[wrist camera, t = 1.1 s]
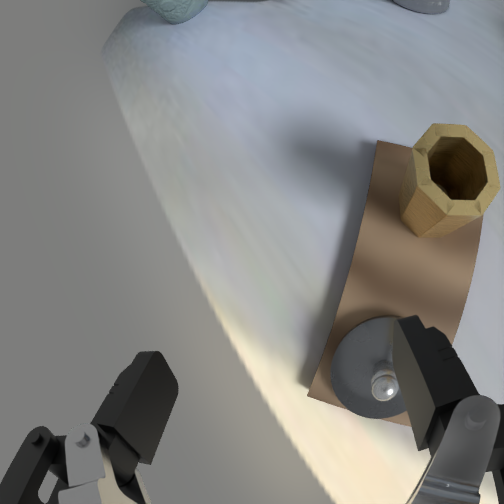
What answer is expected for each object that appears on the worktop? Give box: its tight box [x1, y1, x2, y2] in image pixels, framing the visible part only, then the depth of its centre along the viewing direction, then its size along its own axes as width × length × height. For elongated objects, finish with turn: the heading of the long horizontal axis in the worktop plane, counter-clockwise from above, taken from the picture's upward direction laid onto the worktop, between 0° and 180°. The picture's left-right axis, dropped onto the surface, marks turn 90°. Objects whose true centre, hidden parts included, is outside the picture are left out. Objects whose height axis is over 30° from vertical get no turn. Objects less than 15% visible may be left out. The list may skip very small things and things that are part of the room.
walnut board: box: [307, 140, 483, 427], centre depth 20 cm, size 24×11×5 cm, turn 164°
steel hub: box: [330, 315, 407, 419], centre depth 19 cm, size 9×9×6 cm
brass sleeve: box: [399, 123, 500, 238], centre depth 16 cm, size 5×5×10 cm
